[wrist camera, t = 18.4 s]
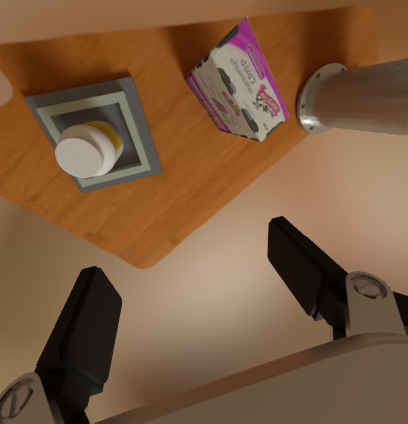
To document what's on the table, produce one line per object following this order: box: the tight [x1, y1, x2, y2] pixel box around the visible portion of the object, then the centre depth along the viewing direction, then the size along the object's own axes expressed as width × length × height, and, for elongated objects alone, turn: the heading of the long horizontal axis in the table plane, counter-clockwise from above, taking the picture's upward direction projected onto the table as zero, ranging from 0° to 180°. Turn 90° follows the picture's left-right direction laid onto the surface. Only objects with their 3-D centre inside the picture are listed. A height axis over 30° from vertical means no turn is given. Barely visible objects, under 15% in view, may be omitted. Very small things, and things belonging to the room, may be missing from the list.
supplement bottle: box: [55, 121, 124, 178], centre depth 26 cm, size 7×7×13 cm
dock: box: [24, 77, 162, 193], centre depth 31 cm, size 16×16×4 cm
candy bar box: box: [185, 16, 290, 142], centre depth 27 cm, size 11×5×16 cm, turn 39°
